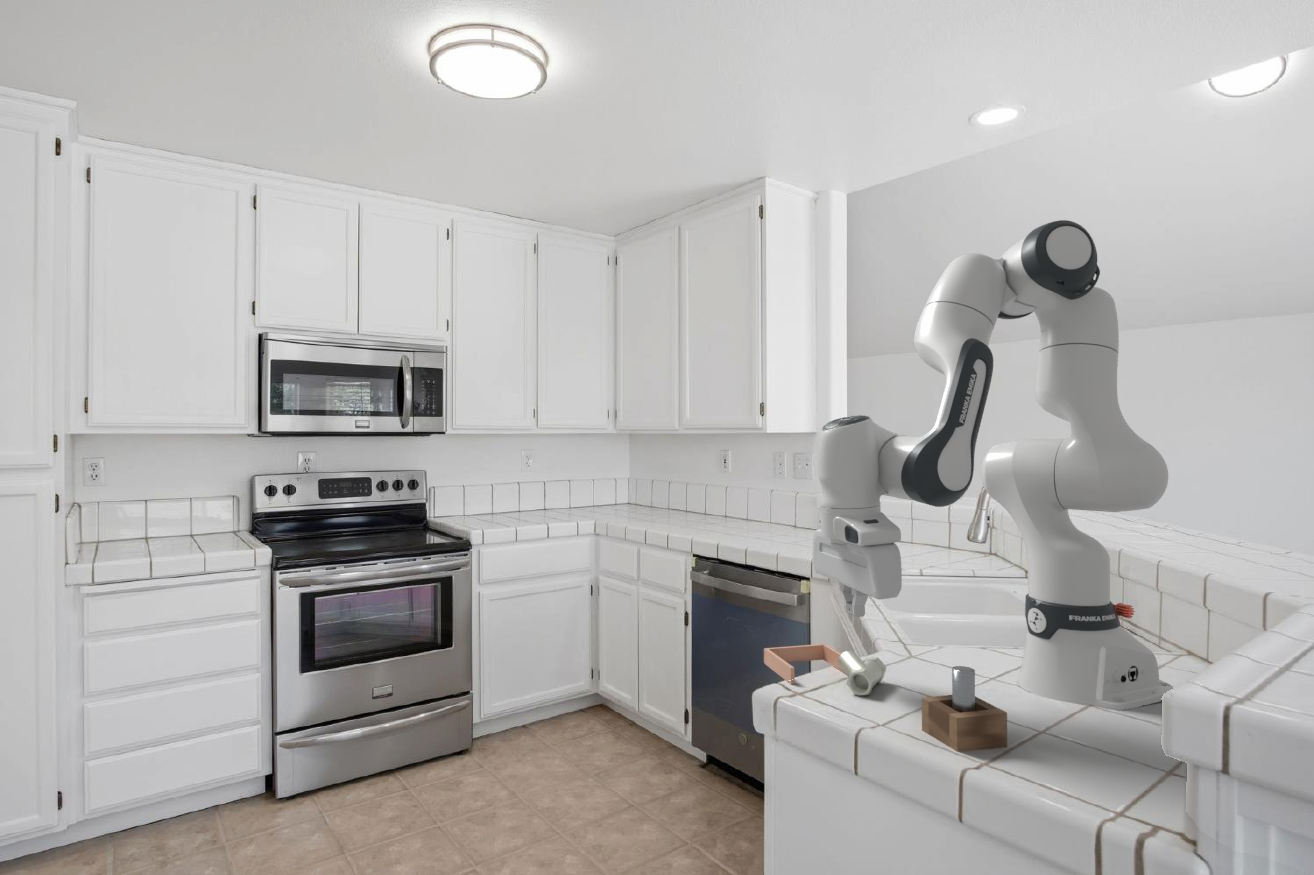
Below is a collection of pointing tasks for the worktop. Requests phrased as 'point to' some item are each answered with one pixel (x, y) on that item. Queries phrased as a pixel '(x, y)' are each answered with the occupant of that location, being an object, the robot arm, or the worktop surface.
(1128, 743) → the worktop surface
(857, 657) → the pipe fitting
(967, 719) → the block
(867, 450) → the robot arm
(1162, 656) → the worktop surface
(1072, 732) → the worktop surface
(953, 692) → the cylinder
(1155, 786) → the worktop surface
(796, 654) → the corral
